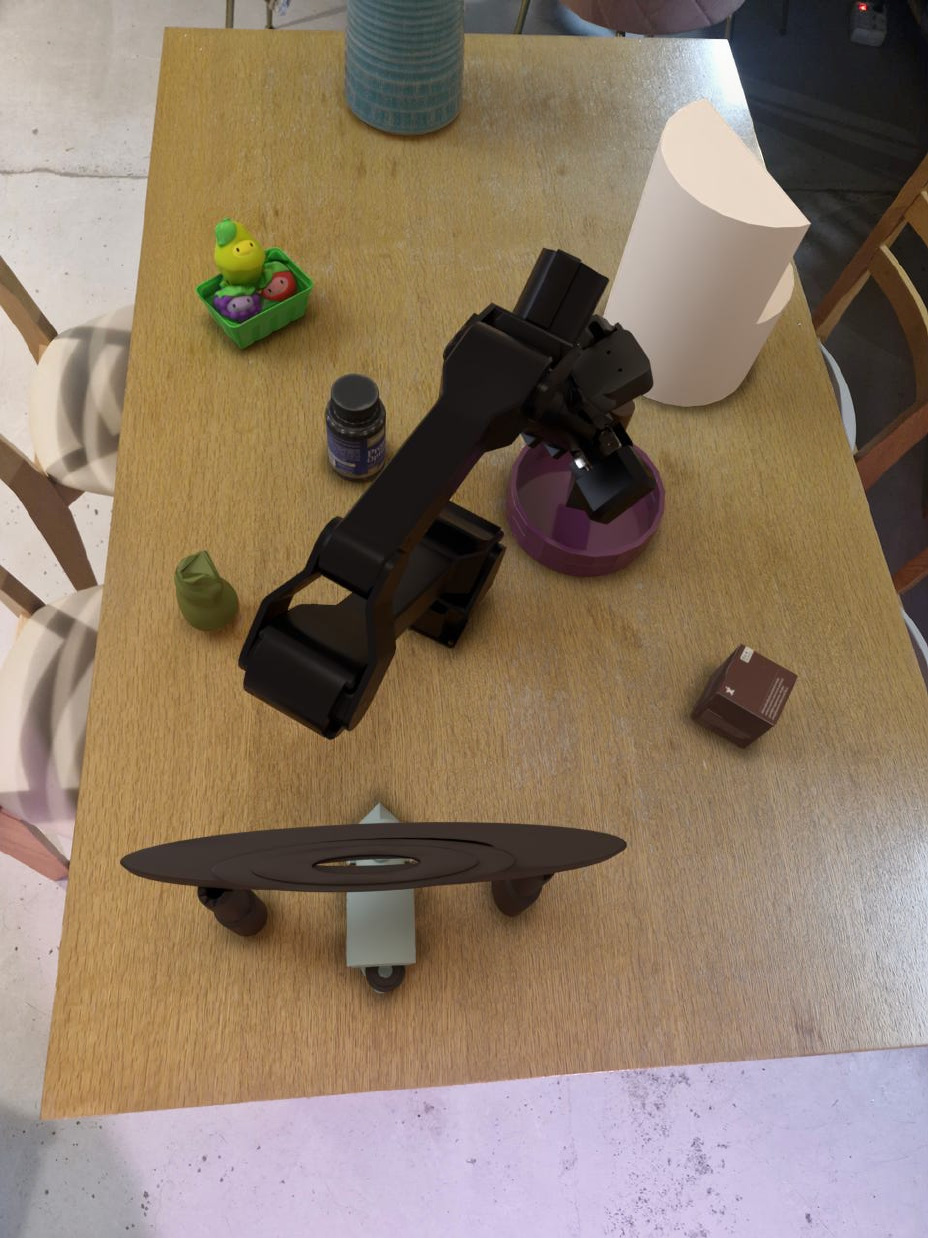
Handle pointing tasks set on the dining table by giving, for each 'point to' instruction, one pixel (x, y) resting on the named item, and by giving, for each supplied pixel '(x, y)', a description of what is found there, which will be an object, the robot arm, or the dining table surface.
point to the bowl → (574, 518)
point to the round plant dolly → (372, 873)
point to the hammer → (618, 415)
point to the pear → (204, 594)
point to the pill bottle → (356, 428)
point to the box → (744, 697)
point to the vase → (405, 63)
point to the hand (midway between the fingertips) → (616, 444)
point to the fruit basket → (252, 286)
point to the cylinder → (705, 260)
